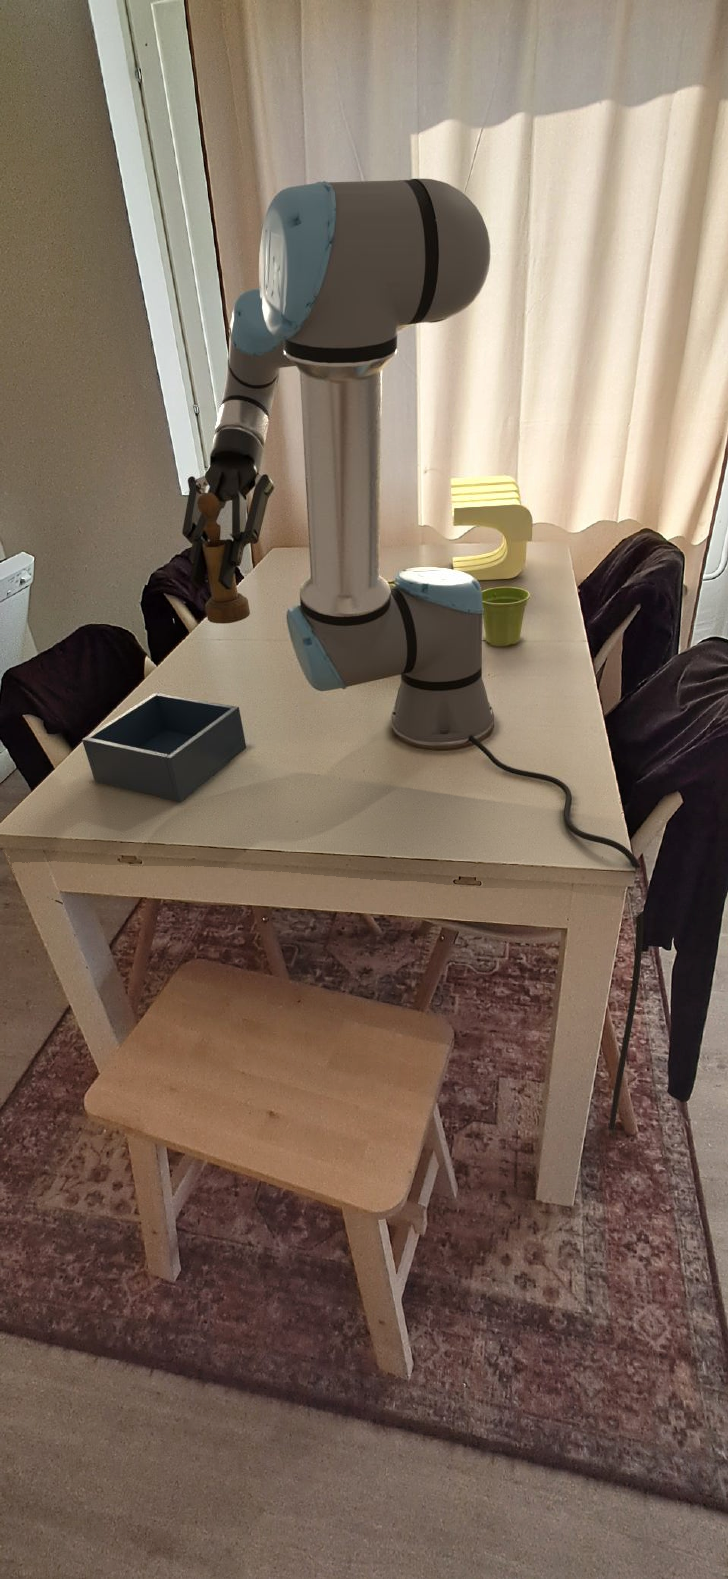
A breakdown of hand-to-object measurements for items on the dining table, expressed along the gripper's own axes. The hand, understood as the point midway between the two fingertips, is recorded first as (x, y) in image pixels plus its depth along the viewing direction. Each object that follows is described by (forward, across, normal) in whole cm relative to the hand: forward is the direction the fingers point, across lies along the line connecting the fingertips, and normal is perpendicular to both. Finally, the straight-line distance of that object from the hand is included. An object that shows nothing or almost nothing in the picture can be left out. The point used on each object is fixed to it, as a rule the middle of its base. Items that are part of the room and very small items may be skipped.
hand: (210, 584), depth 111 cm
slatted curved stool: (-40, -28, -71) cm, 86 cm away
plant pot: (-10, -37, -41) cm, 57 cm away
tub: (+26, +3, -5) cm, 27 cm away
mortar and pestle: (+2, 0, -7) cm, 7 cm away
